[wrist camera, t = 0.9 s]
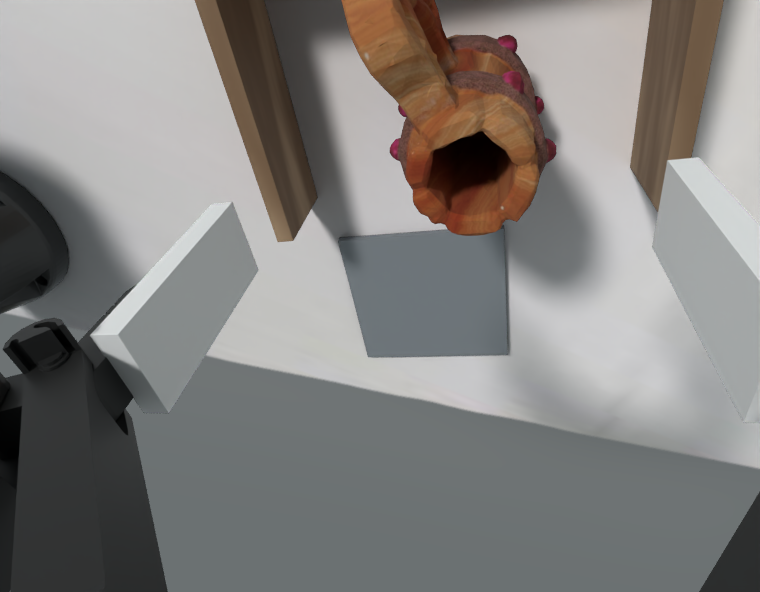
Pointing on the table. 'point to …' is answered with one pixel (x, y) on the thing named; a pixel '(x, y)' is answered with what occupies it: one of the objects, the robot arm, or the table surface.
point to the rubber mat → (428, 292)
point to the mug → (455, 114)
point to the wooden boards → (283, 139)
